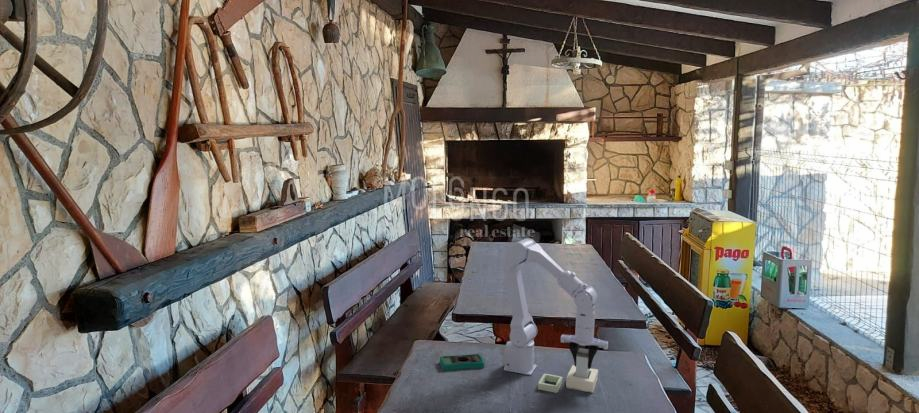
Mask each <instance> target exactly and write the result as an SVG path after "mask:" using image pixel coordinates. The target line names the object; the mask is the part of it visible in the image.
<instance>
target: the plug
mask: <svg viewBox="0 0 919 413" xmlns="http://www.w3.org/2000/svg"><path fill="white" fill-rule="evenodd" d="M588 362H589V348H583V347H579V350H578V352H577V356H576V377H581V378H586V379H587V378H588V376H589V372H590V369H588Z"/></svg>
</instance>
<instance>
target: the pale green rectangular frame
mask: <svg viewBox="0 0 919 413" xmlns="http://www.w3.org/2000/svg"><path fill="white" fill-rule="evenodd" d="M563 377H564V376H560V375H555V374H550V373H543V374H542V376H541V378H540V379H539V380H538V383H537V390H540V391H545V392H550V393H555V394H558V393H559V391H558V390H560V389H559V388H561V387H562V385H561V384H563V381H564V380H563ZM546 382H550V383H546ZM551 382H552V383H555V384H551ZM560 386H561V387H560ZM557 392H558V393H557Z"/></svg>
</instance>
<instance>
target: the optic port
mask: <svg viewBox="0 0 919 413" xmlns="http://www.w3.org/2000/svg"><path fill="white" fill-rule="evenodd" d="M598 377H599V369H597V368H592V367H591V368H590V372H589V376H588V378H587V379H586V378H581V377H576V367H575V364H572V366H571V367H570V370H569V371H568V373H567V376H566V380H565V382H566V383H565V385H566V386H565V389H571V390H575V391H579V392H584V393H585V392H586V393H591V394H593V393H594V392H595V388H596V385H597V382H598V379H599V378H598Z"/></svg>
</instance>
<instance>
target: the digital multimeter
mask: <svg viewBox="0 0 919 413" xmlns="http://www.w3.org/2000/svg"><path fill="white" fill-rule="evenodd" d="M439 365H440V367H441V370H442V371H444V372H447V371H456V370H458V371H460V370H461V371H462V370H472V369H485V359H484V357H482V355H480V354H479V353H472V354H471V353H470V354H461V355H458V354H457V355H444V356H443V355H442V356H440V357H439Z"/></svg>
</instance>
